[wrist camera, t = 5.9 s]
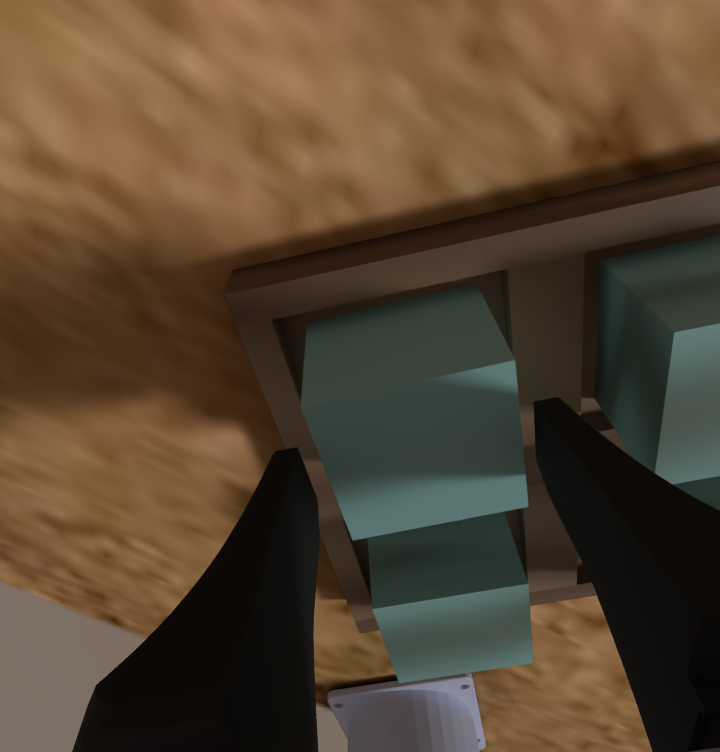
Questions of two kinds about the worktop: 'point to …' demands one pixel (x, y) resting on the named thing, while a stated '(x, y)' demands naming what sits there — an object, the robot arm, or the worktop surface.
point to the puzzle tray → (535, 382)
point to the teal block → (415, 412)
